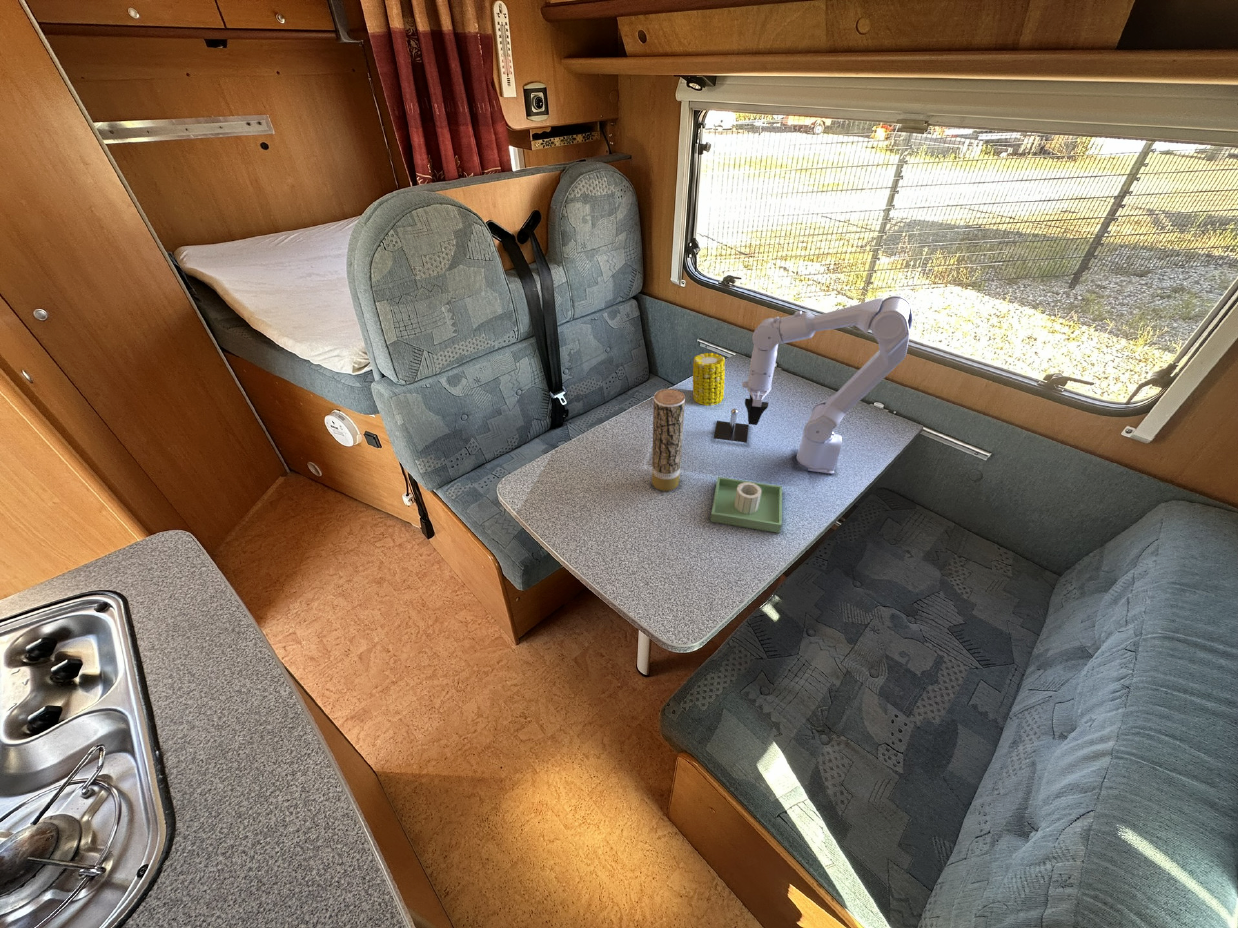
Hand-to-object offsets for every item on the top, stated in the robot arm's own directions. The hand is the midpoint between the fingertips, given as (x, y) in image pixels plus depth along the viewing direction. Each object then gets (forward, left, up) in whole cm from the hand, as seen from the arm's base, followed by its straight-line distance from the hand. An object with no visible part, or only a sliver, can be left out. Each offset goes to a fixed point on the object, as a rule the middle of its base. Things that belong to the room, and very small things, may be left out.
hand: (753, 415), depth 128 cm
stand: (+5, -4, -9) cm, 11 cm away
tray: (-1, +25, -9) cm, 27 cm away
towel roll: (-1, +25, -9) cm, 27 cm away
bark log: (+19, +21, -10) cm, 30 cm away
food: (+14, -21, -10) cm, 27 cm away
